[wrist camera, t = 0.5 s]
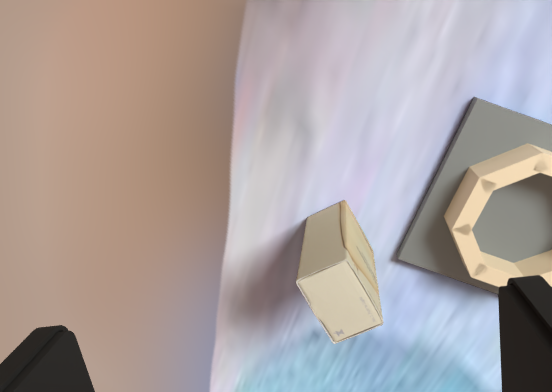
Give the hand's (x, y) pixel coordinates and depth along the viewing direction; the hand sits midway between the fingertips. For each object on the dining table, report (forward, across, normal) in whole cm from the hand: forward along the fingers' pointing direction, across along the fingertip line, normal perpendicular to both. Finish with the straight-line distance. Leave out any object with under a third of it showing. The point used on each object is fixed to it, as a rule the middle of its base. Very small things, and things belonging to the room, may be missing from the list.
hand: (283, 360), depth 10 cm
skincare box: (+34, -1, +12) cm, 36 cm away
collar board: (+34, -17, +11) cm, 39 cm away
